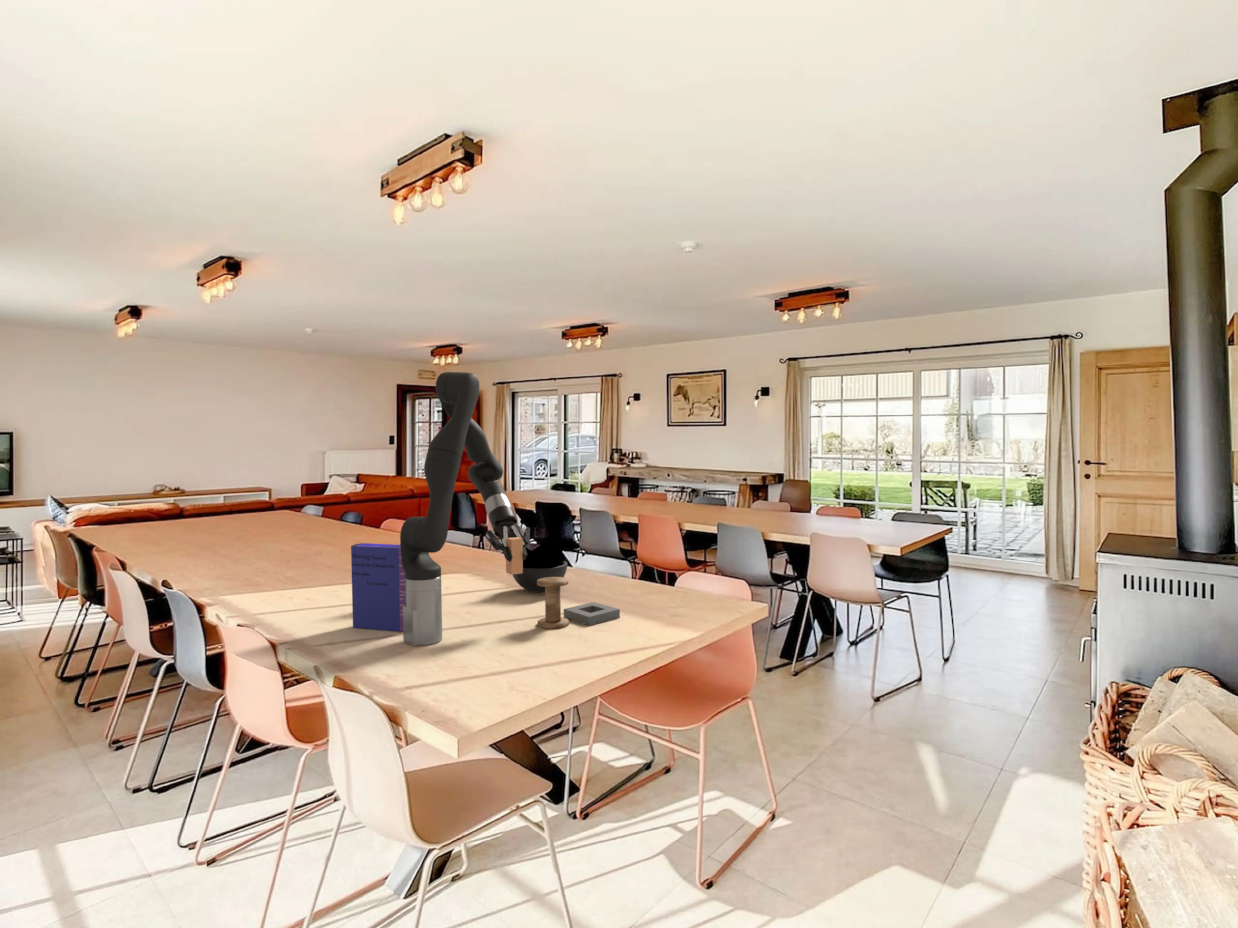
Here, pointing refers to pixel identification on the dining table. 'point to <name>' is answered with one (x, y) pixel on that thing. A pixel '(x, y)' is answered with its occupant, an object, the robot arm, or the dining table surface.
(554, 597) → the bobbin
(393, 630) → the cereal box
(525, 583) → the bowl of black rocks
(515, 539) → the orange rectangular block
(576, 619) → the block with square hole
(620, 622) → the dining table surface
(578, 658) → the dining table surface
